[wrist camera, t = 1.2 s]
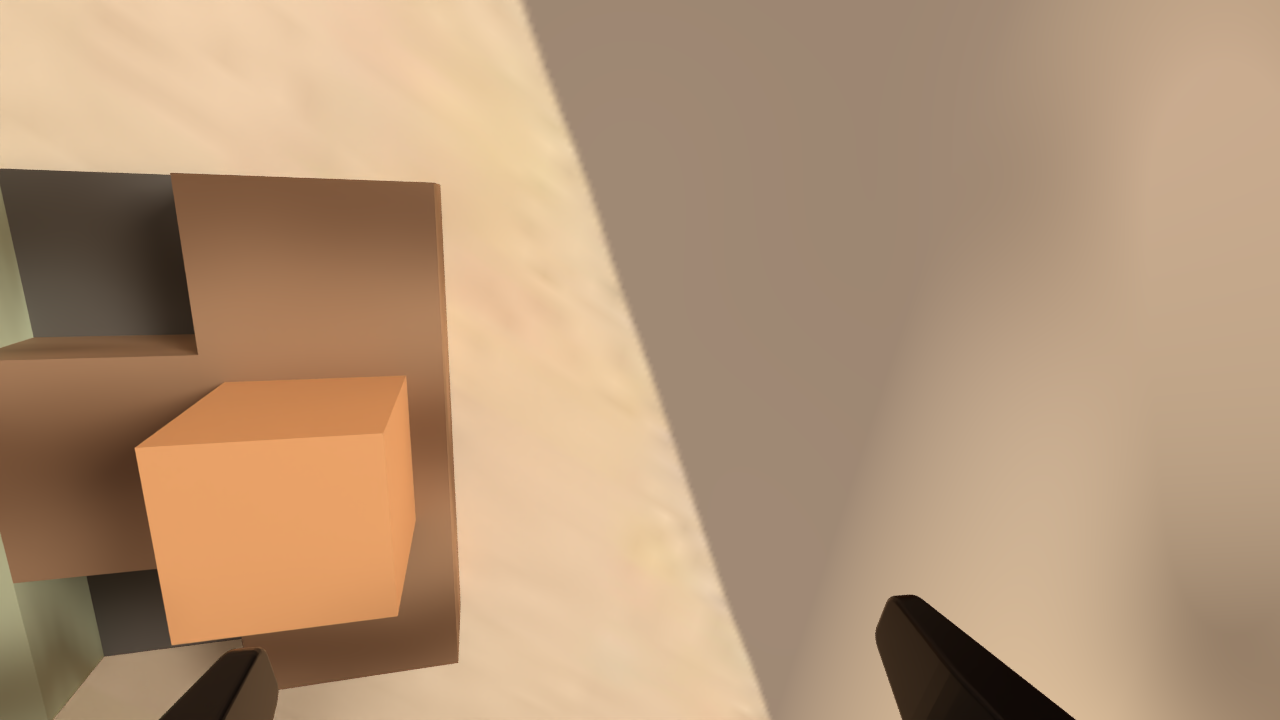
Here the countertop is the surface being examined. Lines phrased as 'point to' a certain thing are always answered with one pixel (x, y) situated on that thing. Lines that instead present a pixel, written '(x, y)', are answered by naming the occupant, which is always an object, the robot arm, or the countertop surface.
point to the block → (281, 506)
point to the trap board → (199, 395)
